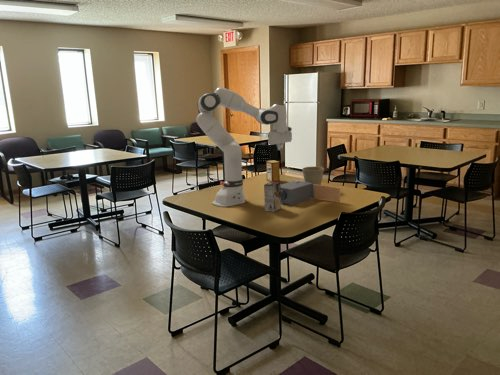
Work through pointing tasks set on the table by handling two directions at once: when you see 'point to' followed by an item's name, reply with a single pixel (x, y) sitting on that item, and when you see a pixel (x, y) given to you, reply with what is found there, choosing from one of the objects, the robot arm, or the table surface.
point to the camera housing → (296, 192)
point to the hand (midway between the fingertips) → (280, 149)
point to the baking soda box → (273, 171)
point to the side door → (326, 192)
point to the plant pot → (313, 174)
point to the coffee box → (272, 196)
